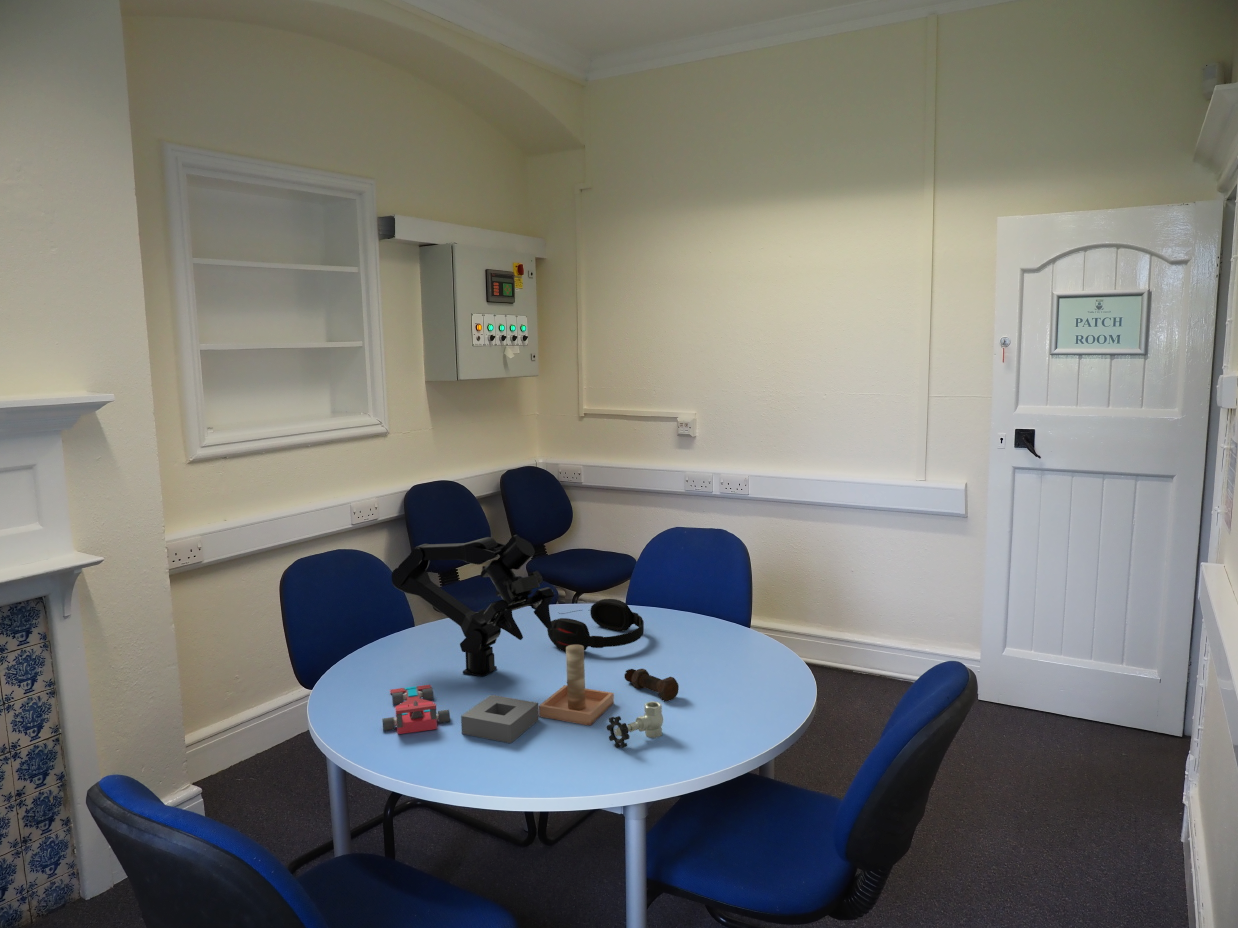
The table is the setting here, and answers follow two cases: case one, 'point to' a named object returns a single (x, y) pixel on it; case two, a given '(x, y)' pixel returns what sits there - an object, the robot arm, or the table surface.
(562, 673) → the table surface
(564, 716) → the tray
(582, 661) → the dowel
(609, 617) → the headset
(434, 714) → the race car
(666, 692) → the bolt
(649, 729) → the valve
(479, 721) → the holder
